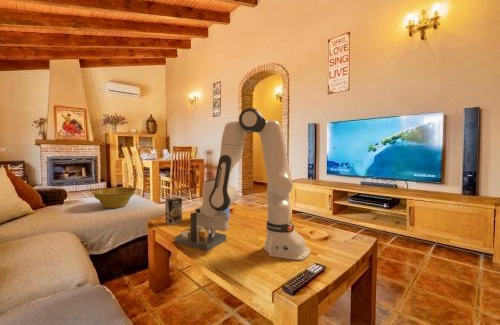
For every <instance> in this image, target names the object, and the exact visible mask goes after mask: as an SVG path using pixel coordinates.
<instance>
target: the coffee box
mask: <svg viewBox="0 0 500 325" xmlns="http://www.w3.org/2000/svg"><path fill="white" fill-rule="evenodd" d="M164 199H165V200H164V202H165V204H164V205H165V208H164V209H165V214H164V215H165V216H164V217H165V223H166V225H169V226H172V225H176V224H179V223H180V224H181V223H183V198H181V197H178V196H177V197H170V198H164Z"/></svg>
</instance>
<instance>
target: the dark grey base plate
mask: <svg viewBox="0 0 500 325" xmlns="http://www.w3.org/2000/svg"><path fill="white" fill-rule="evenodd" d="M202 229H203V230H204V227H201V226H197V240H196V241H191V229H190V230H188V229H185V230H183V231H182V232H181V233H180V234H178V235H175V236H174V243H176V244H180V245H183V246H187V247H190V248H194V249H197V250H201V251H205V252H208V251H210V250H212V249H214V248H216V247H217V246H219V245H221V244H222V243H224V242H226V241H227V234H226V233H225V234H224V233H219V232H215V236H214V237H211V236H208V237H206V238H203V237H199V231H200V230H202Z"/></svg>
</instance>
